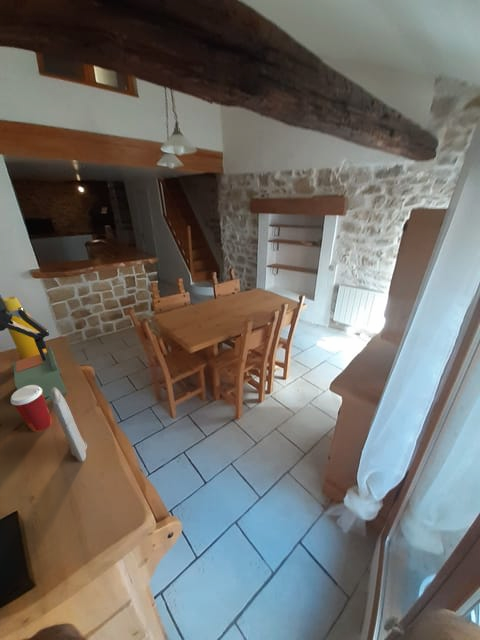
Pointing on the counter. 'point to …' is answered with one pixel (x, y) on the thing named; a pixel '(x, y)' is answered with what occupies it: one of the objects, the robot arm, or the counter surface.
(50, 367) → the sage green crate
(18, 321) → the yellow bottle
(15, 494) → the counter surface
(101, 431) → the counter surface
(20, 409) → the paper cup
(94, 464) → the counter surface
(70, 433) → the tall pale column
